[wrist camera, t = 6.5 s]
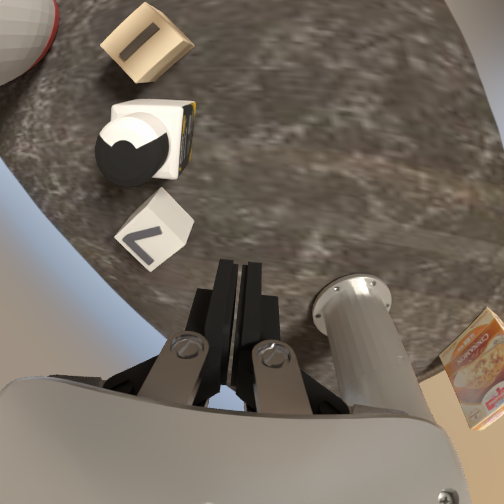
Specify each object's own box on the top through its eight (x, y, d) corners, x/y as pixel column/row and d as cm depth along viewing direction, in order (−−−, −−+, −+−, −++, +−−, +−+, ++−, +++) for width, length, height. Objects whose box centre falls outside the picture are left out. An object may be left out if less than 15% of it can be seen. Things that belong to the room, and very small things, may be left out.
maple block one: (195, 46, 27) (182, 39, 22) (154, 81, 29) (134, 83, 24) (162, 12, 25) (143, 1, 20) (123, 48, 27) (98, 45, 22)
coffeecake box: (486, 305, 47) (533, 379, 30) (498, 315, 49) (540, 383, 32) (437, 355, 54) (469, 431, 37) (452, 361, 56) (482, 431, 39)
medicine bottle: (190, 161, 34) (163, 200, 24) (133, 156, 34) (87, 193, 24) (196, 101, 31) (168, 112, 21) (136, 98, 30) (85, 111, 20)
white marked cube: (194, 220, 39) (184, 246, 33) (162, 246, 41) (149, 273, 35) (161, 186, 36) (146, 206, 31) (131, 214, 38) (113, 238, 33)
